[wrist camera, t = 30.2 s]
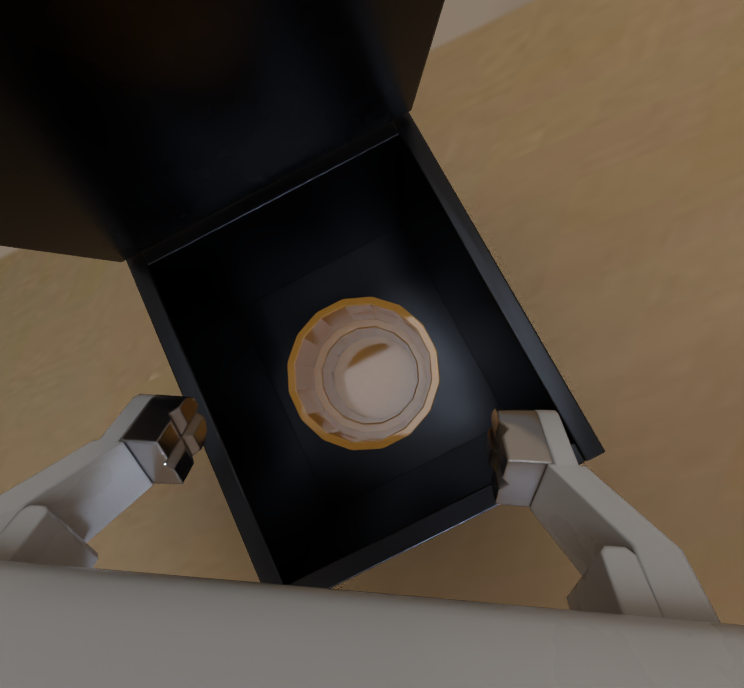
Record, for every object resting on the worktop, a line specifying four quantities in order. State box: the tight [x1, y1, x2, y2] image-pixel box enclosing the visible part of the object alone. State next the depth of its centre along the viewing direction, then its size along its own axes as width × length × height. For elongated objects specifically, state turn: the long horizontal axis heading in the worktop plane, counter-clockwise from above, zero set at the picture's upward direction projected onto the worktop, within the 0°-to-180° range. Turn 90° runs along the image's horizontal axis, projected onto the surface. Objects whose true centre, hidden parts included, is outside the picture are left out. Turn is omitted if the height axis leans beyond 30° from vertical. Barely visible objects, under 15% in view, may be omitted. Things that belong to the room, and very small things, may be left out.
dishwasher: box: [126, 112, 605, 589], centre depth 20 cm, size 16×14×10 cm
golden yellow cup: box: [287, 297, 440, 450], centre depth 20 cm, size 6×6×8 cm
